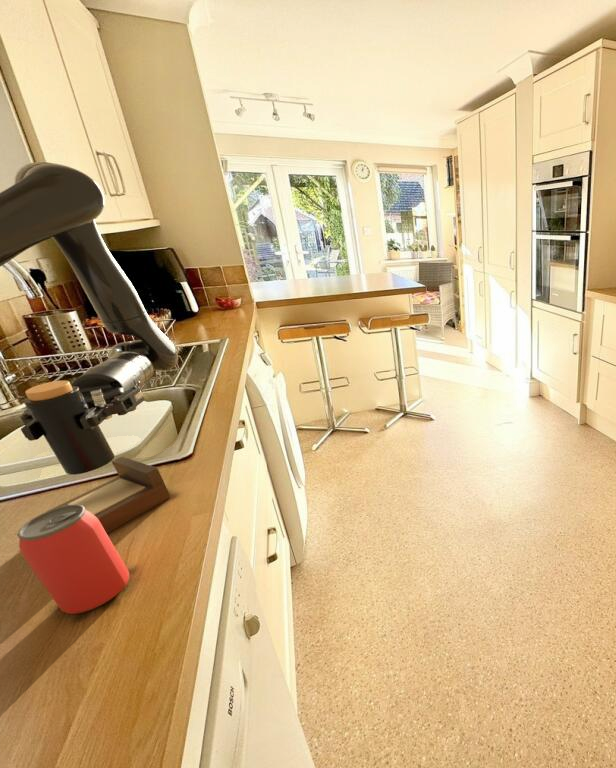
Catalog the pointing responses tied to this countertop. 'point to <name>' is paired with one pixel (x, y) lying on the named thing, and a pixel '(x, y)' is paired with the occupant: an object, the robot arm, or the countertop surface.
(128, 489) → the brown wooden stand
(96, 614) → the countertop surface
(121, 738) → the countertop surface
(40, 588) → the countertop surface
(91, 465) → the black canister
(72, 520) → the beer can
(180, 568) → the countertop surface
